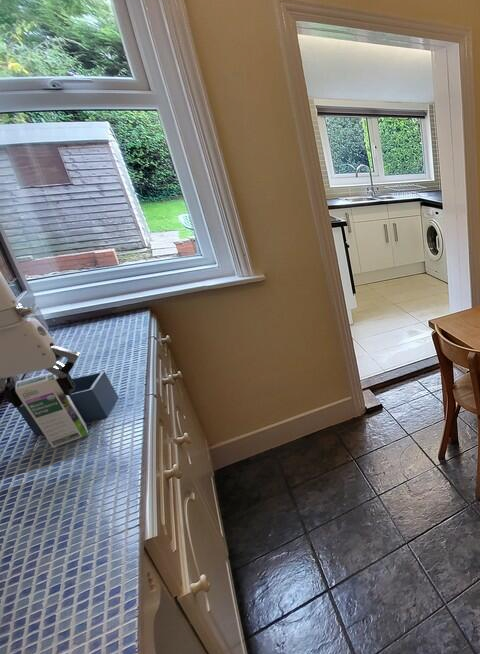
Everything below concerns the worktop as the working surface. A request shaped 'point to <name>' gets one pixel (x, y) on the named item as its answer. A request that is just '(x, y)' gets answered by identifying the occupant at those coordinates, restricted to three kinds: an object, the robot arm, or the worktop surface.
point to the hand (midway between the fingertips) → (45, 397)
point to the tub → (84, 399)
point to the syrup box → (51, 409)
